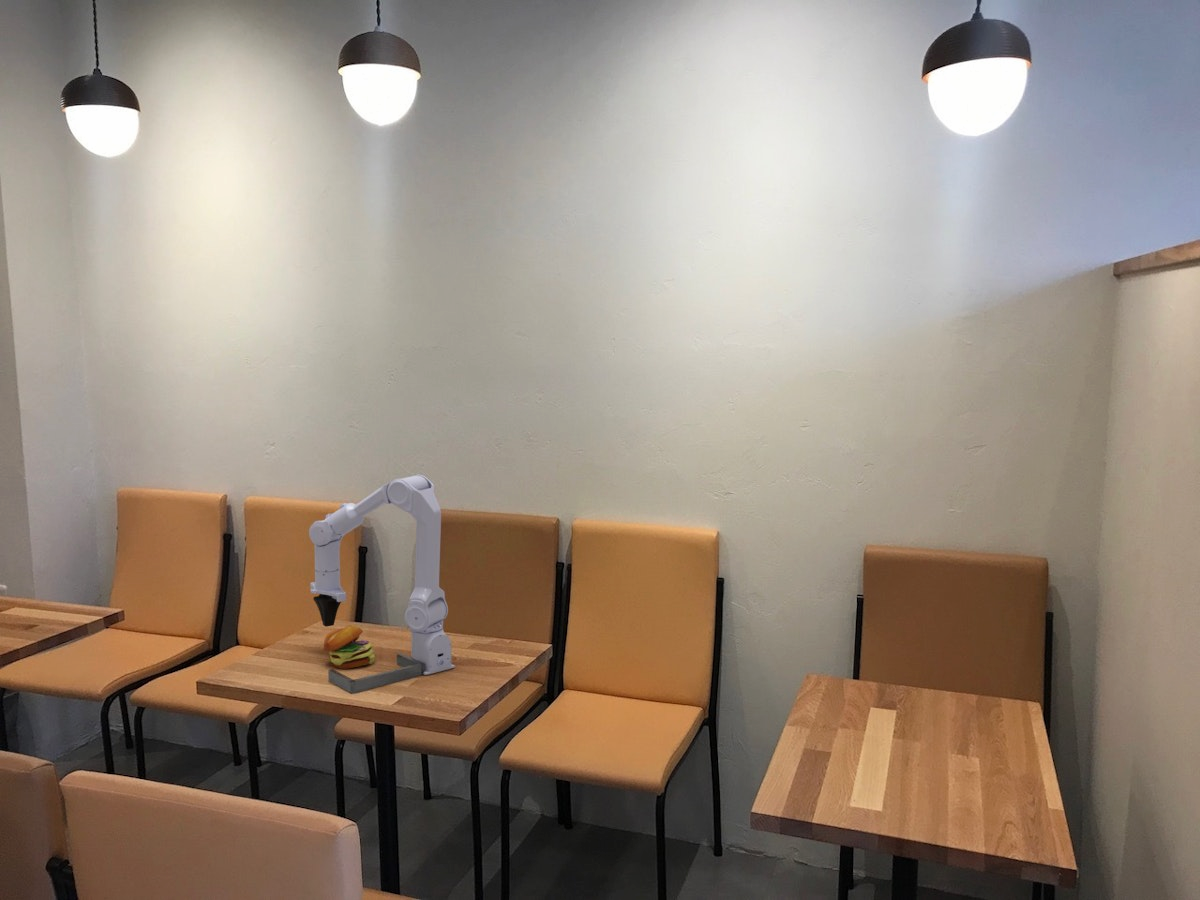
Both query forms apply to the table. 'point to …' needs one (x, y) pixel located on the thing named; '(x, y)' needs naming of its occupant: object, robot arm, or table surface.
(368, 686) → the grey low angled fixture
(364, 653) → the cheeseburger
